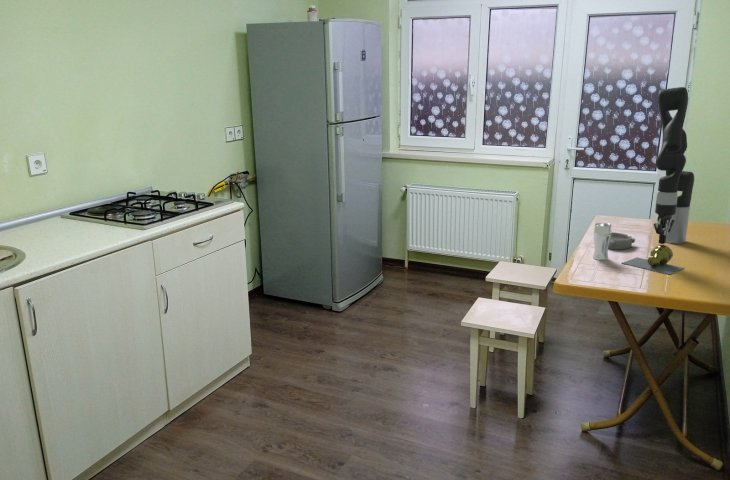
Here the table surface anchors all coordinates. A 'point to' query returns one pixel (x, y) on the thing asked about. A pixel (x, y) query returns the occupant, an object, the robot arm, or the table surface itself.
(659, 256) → the brass door knob
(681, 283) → the table surface
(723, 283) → the table surface
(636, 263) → the mat
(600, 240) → the beer glass
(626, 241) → the dish
